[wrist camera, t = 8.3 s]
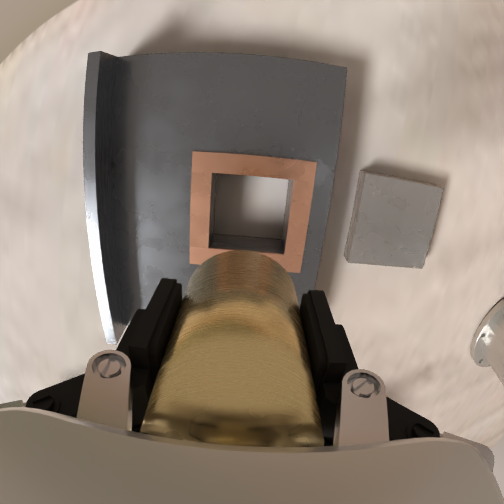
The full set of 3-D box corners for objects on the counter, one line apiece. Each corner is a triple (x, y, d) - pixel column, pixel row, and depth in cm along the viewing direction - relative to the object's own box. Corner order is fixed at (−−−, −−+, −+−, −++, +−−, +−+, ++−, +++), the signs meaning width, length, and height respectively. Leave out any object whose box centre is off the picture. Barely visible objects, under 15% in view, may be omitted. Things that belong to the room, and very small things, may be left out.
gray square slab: (435, 184, 25) (443, 188, 24) (416, 261, 29) (422, 268, 27) (359, 170, 25) (365, 173, 24) (343, 255, 28) (348, 262, 27)
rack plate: (337, 72, 22) (359, 61, 16) (298, 323, 32) (306, 364, 26) (121, 63, 21) (88, 52, 16) (127, 307, 31) (106, 342, 26)
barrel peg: (304, 255, 12) (347, 400, 6) (287, 344, 14) (302, 485, 8) (186, 245, 12) (124, 383, 6) (188, 337, 14) (154, 474, 7)
